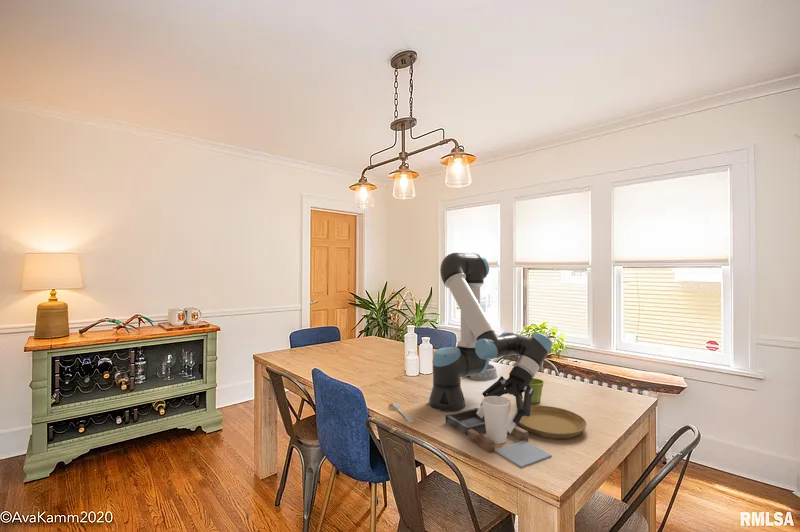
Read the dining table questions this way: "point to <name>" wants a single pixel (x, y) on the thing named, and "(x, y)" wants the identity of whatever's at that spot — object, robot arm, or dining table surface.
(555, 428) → the plant saucer
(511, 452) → the mat
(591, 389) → the dining table surface
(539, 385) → the plant pot
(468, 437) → the track
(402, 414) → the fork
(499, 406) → the foam cup
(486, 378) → the dog bowl
